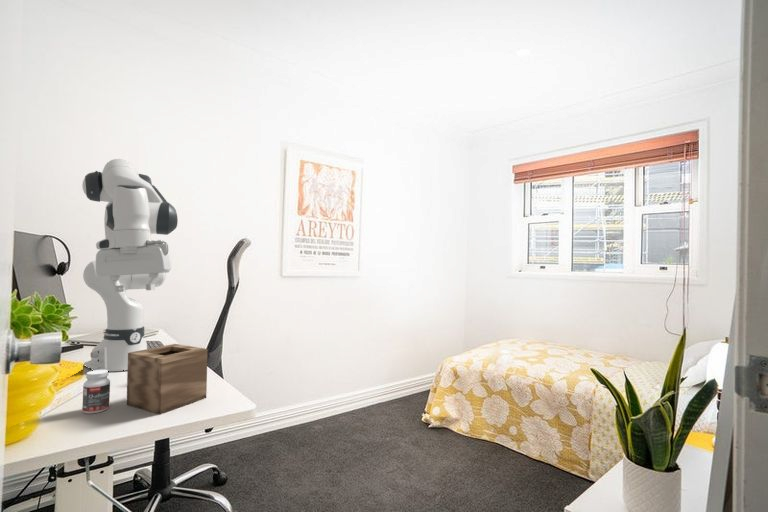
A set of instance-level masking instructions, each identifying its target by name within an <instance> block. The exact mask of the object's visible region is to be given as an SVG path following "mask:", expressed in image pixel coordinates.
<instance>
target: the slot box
mask: <svg viewBox="0 0 768 512" xmlns="http://www.w3.org/2000/svg"><path fill="white" fill-rule="evenodd" d="M208 351H209V350H208V348H203V347H197V346H191V345H185V344H178V343H172V344H166V345H163V346H156V347H152V348H147V349H145V350H140V351H135V352H130V353H128V370H126V371H127V373H126V374H127V377H126V379H127V380H126V406H129V407H132V408H136V409H140V410H144V411H147V412H151V413H154V414H158V415H162V414H165V413H168V412H171V411H173V410H177V409H179V408H183V407H185V406H188V405H191V404H194V403H196V402H199V401H202V400H205V399H207V393H208V392H207V391H208V390H207V385H208V384H207V383H208ZM204 398H205V399H204Z"/></svg>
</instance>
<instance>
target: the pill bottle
mask: <svg viewBox="0 0 768 512" xmlns="http://www.w3.org/2000/svg"><path fill="white" fill-rule="evenodd" d="M108 376H109V372H108V370H94V371H92V370H90V371H87V372H86V375H85V378H86V381H84V382H83V385H82V386H83V387H82V389H83V390H82V407H81V410H82V413H84V414H86V415H87V414H89V415H90V414H91V415H93V414H98V413H102V412H104V411H107V410H108V409H109V408H110V396H111V395H110V392H111V380H110V379H109V378H108Z"/></svg>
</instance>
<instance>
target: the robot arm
mask: <svg viewBox="0 0 768 512" xmlns="http://www.w3.org/2000/svg"><path fill="white" fill-rule="evenodd" d="M81 186H82V190H83V193H84V194H85V196H86V198H87V199H88V200H90V201H91V202H92V201H93V202H98V203H99V202H105V203H106V202H107V204H106V205H105V210H104V217H103V219H104V236H105V238H104V239H101V240H99V241H97V242H96V244H95V247H96V249H97V250H98V251H97V253H96V255H95V260H94V261H93V260H92V261H91V262H89V263H88V264H87V265H86V267H85V268H84V270H83V272H82V277H83V281H84V284H85V285H86V286H87V287H88V288H90V289H91V290H92V291H94V292H95V293H97V294H98V295H99V296H100V298H101V299H102V300H103V302H104V305H105V307H106V308H105V309H106V316H107V321H106V322H107V328H105V329H103V337H102V338H103V340H101V341H100V342H99V343H98V344H97V345H96V346H94V347H93V348H92V350H91V351H90V354H89V355H90V360H88V361H84V362H83V363H84V365H86V366H87V367H89V368H91V369H93V370H108V371H109V372H123V370H124V372H125V371H128V353H130V352H135V351H140V350H145V349H148V343H147V340H146V339H145V338H144V337H145V333H146V330H145V326H144V309H145V308H144V306H143V305H142V303H141V302H139V301H138V300H135V299H133V298H130V297H128V296H127V293H126V291H127V290H146V291H155V290H156V288H158V287H161V286H162V285H163V284H164V282H165V280H166V277H167V273H169V272H170V270H171V269H172V265H171V264H172V263H171V258H170V253H169V244H168V243H167V242H166V241H164V240H163V239H157V240H152V239H151V236H152V235H153V234H154V235H166V236H168V235H169V234H171V233H173V231H174V230H176V229H177V227H178V220H179V217H178V213H177V210H176V208H175V207H174V205H172V204H171V203H170V202H168V201H167V199H166V198H165V197H164V195H163V194H162V193H161V192H160V190H159V189H158V188H157V186H155V185H154V183H153V181H152V179H151V177H150V176H149V175H147V174H142V173H138V171H137V169H136V168H135V166H134V165H132V164H131V162H129V161H127V160H126V159H122V158H114V159H110V160H109V161H107V163H106V164H105V165H104V167H103V168H102V171H98V170H95V171H94V172H93V171H91V172H89V173H87V174H86V175H85V176H84V178H83V180H82V185H81Z"/></svg>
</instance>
